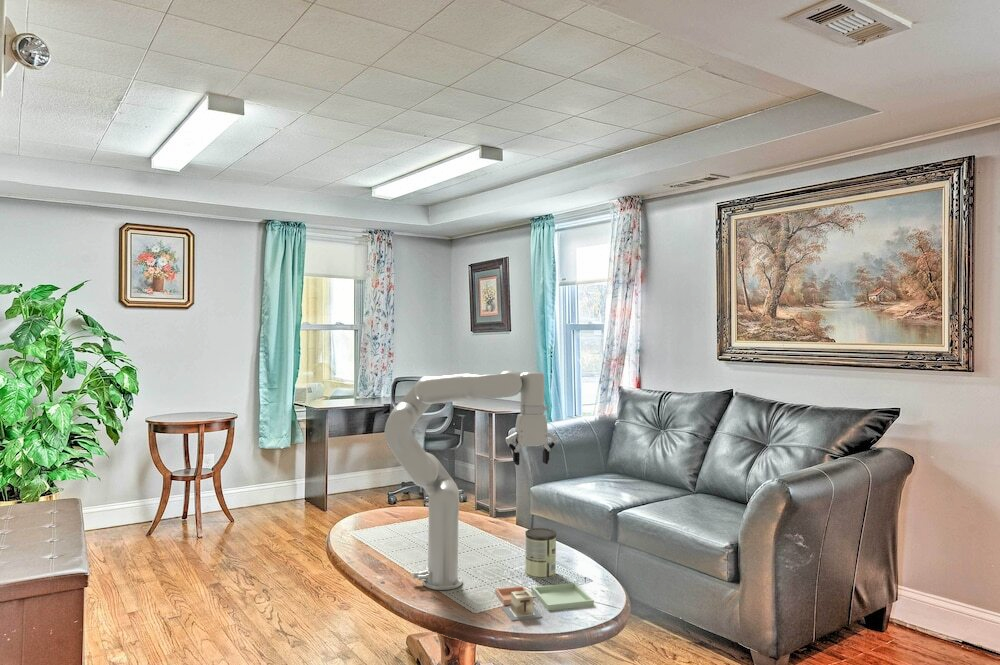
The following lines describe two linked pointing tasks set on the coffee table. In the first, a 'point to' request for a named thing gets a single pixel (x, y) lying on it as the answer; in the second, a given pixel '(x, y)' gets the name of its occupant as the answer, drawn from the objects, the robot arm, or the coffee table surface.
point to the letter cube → (522, 603)
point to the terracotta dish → (507, 594)
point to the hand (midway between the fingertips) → (531, 463)
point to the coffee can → (540, 553)
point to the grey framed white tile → (523, 617)
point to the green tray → (562, 596)
